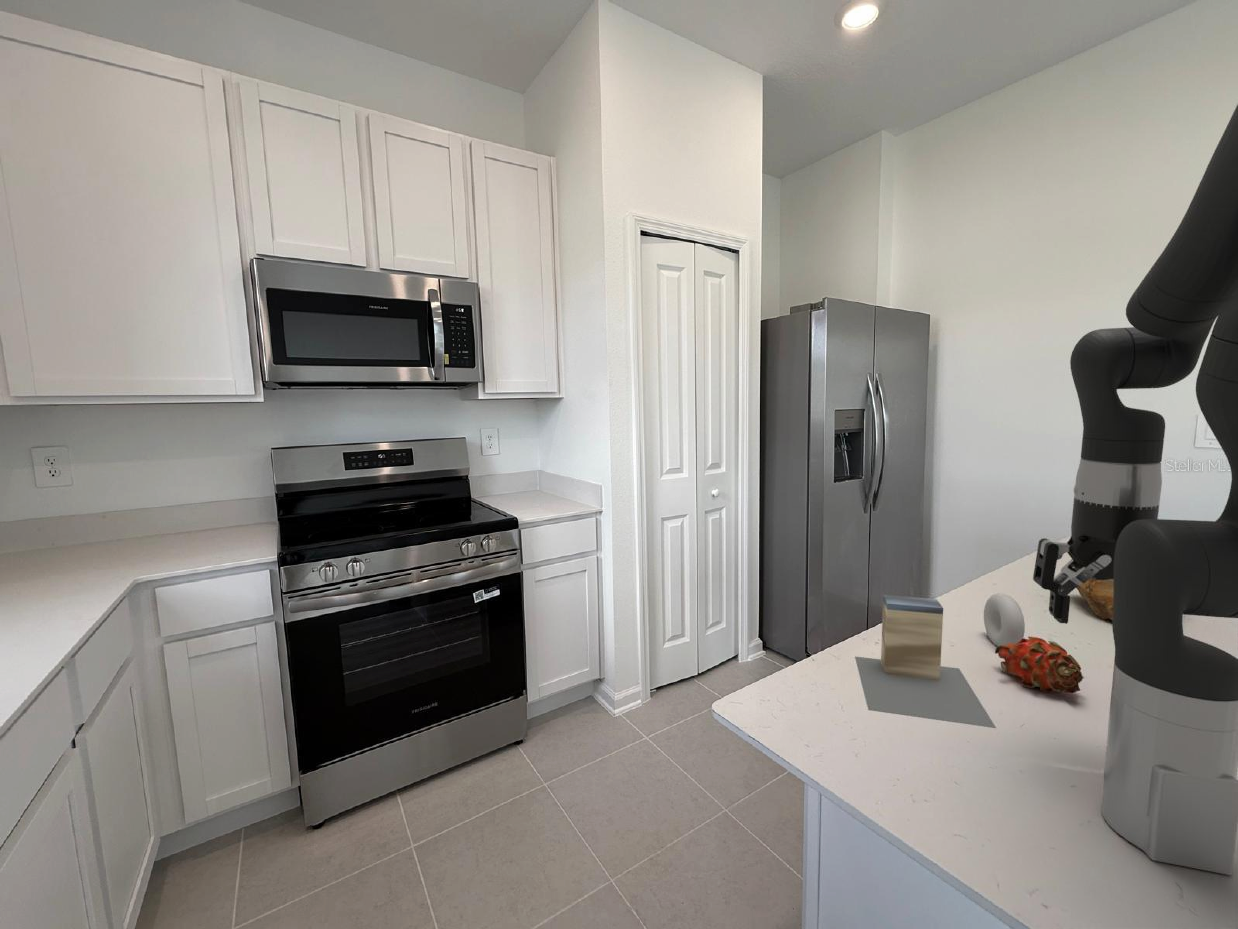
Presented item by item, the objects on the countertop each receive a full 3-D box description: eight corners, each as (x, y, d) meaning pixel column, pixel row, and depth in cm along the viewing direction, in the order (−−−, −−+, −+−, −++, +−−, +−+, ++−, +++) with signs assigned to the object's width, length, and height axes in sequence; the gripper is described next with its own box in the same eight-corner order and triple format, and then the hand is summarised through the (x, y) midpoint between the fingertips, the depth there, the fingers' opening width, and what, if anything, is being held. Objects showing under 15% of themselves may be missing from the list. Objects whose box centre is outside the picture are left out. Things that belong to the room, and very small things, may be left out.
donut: (1027, 661, 92) (1031, 605, 91) (1004, 659, 93) (1008, 604, 92) (998, 636, 102) (1001, 585, 101) (978, 635, 102) (981, 585, 101)
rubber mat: (996, 732, 73) (996, 727, 73) (868, 713, 78) (868, 709, 78) (958, 671, 89) (958, 668, 89) (854, 659, 94) (854, 656, 94)
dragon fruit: (1084, 720, 78) (997, 692, 89) (1106, 675, 81) (1019, 653, 92) (1059, 681, 76) (974, 657, 87) (1083, 636, 79) (997, 618, 90)
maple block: (939, 680, 85) (943, 608, 84) (884, 673, 88) (887, 603, 86) (933, 668, 89) (936, 599, 88) (880, 662, 92) (883, 594, 90)
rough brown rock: (1084, 590, 126) (1081, 528, 125) (1185, 605, 113) (1183, 536, 112) (1049, 618, 113) (1046, 549, 112) (1159, 639, 99) (1156, 560, 98)
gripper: (1058, 502, 62) (1046, 632, 65) (1215, 506, 58) (1196, 645, 61) (1031, 489, 70) (1021, 607, 72) (1169, 493, 65) (1154, 618, 68)
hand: (1101, 624), depth 66 cm, fingers open, 8 cm apart
